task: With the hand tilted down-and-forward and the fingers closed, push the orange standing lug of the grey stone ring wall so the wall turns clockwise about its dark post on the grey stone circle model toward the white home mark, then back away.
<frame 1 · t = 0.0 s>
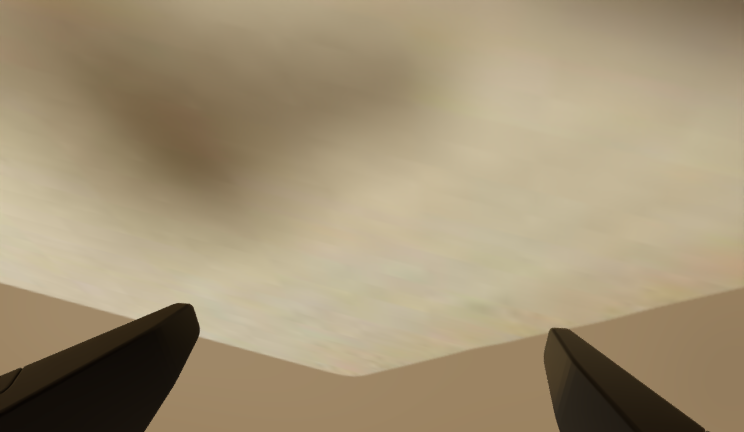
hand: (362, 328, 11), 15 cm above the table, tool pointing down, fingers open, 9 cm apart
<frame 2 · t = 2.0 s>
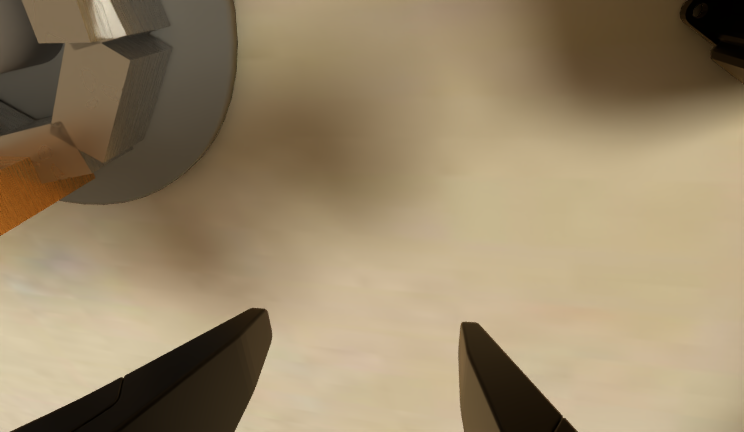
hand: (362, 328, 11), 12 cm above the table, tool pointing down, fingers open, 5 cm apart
grey stone circle model: (28, 4, 20), on the table
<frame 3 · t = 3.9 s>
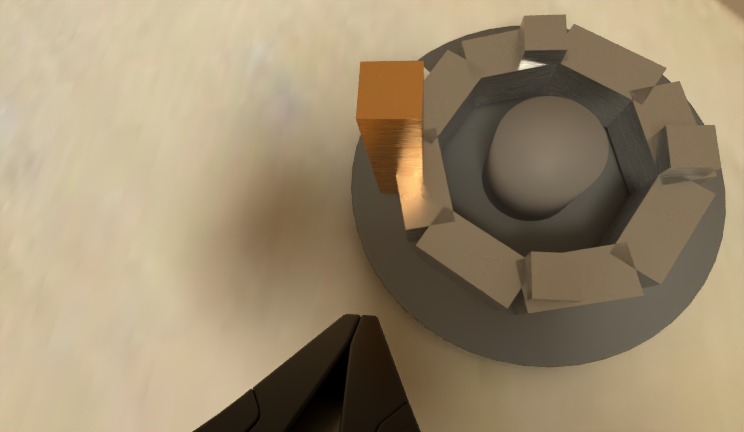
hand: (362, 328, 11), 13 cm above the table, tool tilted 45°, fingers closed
grey stone circle model: (523, 184, 25), on the table
grey stone ring wall: (548, 140, 19), point 6 cm above the table, hinge at 0.0°
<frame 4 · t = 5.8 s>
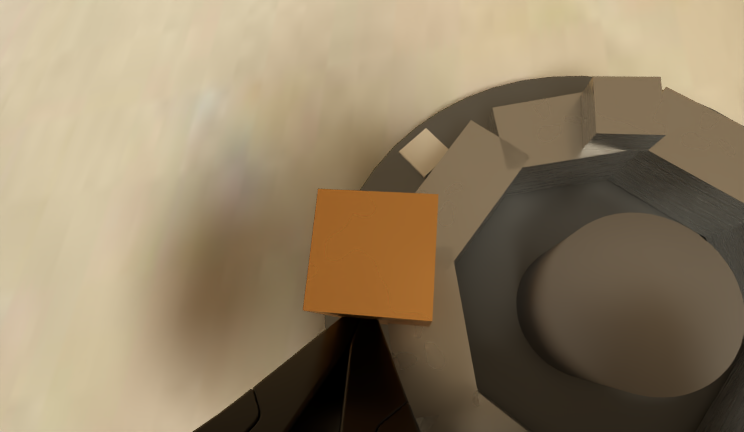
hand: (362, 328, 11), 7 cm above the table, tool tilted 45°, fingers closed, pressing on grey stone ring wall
grey stone circle model: (576, 310, 17), on the table
grey stone ring wall: (643, 295, 11), point 6 cm above the table, hinge at 0.7°, touching gripper
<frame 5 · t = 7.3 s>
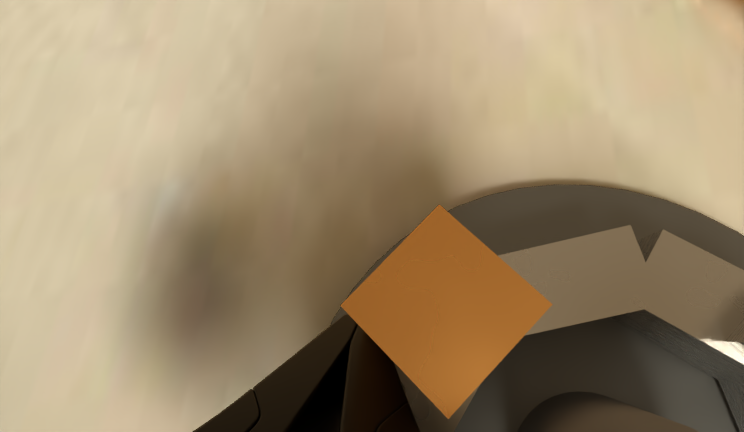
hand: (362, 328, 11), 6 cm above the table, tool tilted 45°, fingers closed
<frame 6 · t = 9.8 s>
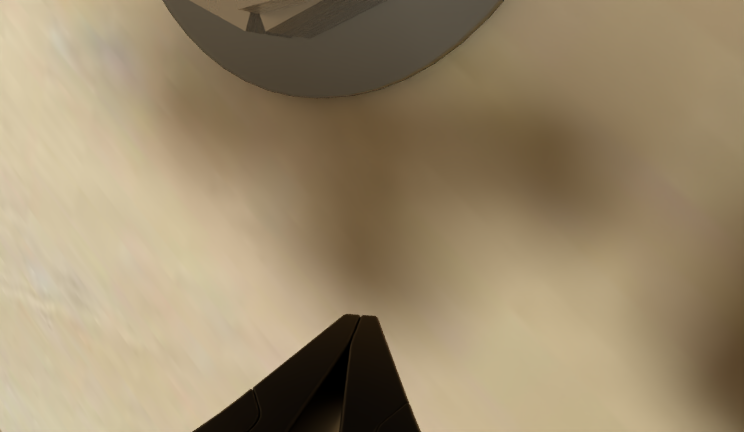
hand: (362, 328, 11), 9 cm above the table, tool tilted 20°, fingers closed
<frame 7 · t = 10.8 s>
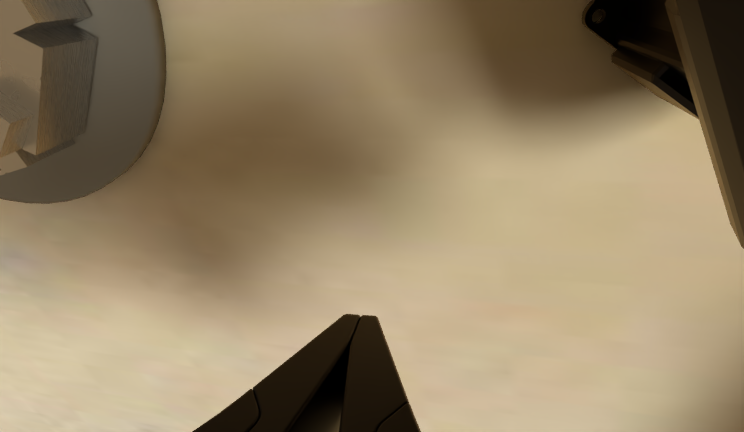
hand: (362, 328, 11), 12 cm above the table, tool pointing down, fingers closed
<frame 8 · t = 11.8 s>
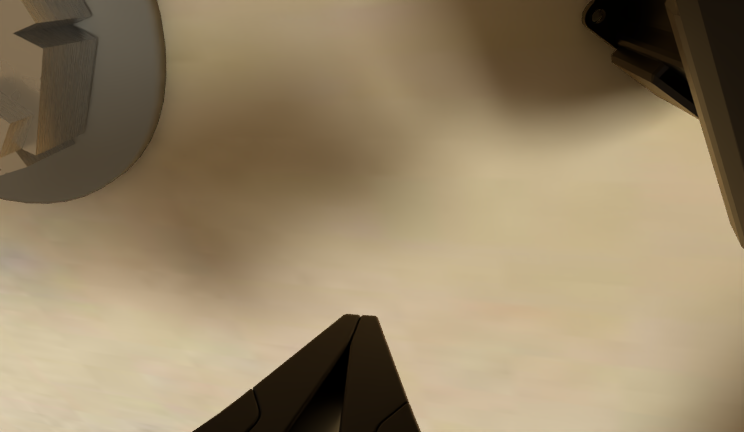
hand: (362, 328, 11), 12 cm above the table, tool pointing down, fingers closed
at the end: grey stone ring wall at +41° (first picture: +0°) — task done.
